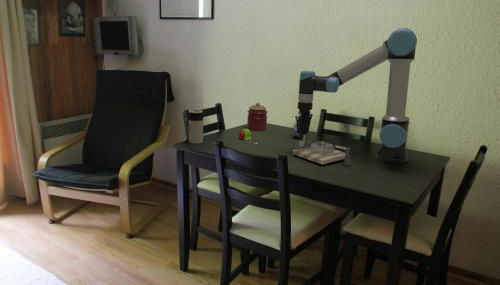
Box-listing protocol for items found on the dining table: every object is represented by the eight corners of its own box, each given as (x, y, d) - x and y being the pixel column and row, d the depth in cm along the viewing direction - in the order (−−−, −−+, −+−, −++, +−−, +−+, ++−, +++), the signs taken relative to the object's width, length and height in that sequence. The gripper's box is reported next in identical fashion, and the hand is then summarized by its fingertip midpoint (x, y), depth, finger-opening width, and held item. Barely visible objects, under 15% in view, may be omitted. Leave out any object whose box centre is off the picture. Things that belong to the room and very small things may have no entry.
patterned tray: (348, 157, 198) (349, 150, 197) (321, 164, 186) (322, 156, 185) (314, 146, 216) (314, 139, 215) (287, 151, 204) (287, 144, 203)
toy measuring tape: (245, 136, 237) (245, 126, 235) (261, 145, 221) (261, 133, 219) (235, 137, 234) (236, 127, 233) (251, 146, 218) (251, 134, 216)
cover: (333, 152, 198) (334, 142, 197) (322, 155, 194) (323, 145, 192) (321, 148, 205) (322, 139, 203) (310, 151, 200) (311, 141, 199)
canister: (257, 126, 266) (258, 100, 261) (270, 130, 256) (272, 103, 251) (242, 128, 257) (243, 101, 253) (255, 132, 248) (256, 105, 243)
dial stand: (349, 165, 190) (351, 148, 188) (347, 166, 189) (349, 149, 187) (335, 161, 195) (336, 145, 193) (333, 162, 194) (334, 145, 192)
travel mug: (204, 141, 224) (204, 110, 219) (201, 144, 216) (201, 112, 211) (190, 140, 224) (190, 109, 220) (187, 143, 217) (186, 111, 212)
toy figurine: (307, 141, 232) (308, 121, 229) (288, 139, 234) (289, 120, 231) (308, 136, 243) (309, 117, 239) (290, 135, 245) (291, 116, 242)
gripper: (306, 99, 208) (302, 142, 214) (292, 101, 198) (288, 146, 204) (318, 101, 203) (314, 145, 209) (304, 103, 193) (300, 149, 199)
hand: (301, 146), depth 206 cm, fingers closed
